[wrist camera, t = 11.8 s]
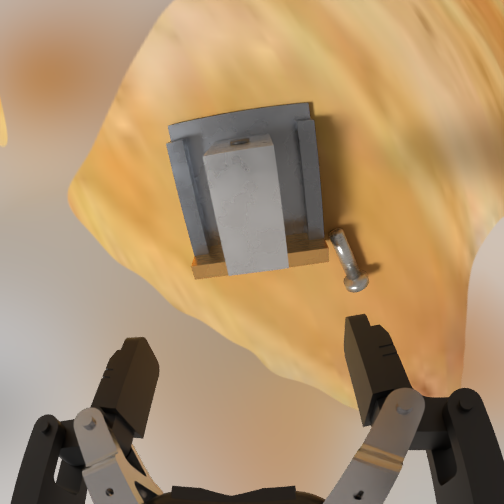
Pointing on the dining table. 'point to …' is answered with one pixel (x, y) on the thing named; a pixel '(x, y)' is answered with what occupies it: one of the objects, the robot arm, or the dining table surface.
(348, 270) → the hitch pin
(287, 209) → the grey channel bracket
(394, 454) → the robot arm
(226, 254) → the grey metal block
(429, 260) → the dining table surface
